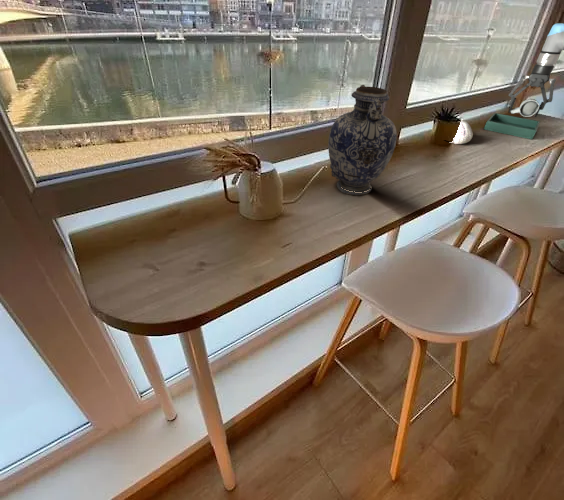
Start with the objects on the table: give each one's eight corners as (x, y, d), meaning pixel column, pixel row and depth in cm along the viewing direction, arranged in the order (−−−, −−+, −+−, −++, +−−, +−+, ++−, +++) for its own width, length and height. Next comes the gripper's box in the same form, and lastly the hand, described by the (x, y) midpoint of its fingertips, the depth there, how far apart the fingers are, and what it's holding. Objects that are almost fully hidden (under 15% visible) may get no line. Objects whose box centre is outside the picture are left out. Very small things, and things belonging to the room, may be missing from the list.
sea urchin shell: (473, 139, 139) (481, 120, 134) (465, 148, 130) (474, 128, 125) (441, 132, 145) (448, 113, 140) (432, 140, 136) (439, 120, 131)
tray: (536, 129, 153) (540, 121, 150) (532, 139, 141) (536, 130, 139) (490, 120, 162) (494, 112, 159) (483, 129, 150) (487, 120, 148)
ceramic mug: (533, 114, 164) (540, 97, 159) (534, 118, 158) (542, 101, 153) (509, 111, 168) (516, 95, 163) (509, 115, 162) (516, 98, 157)
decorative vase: (319, 171, 109) (330, 79, 91) (374, 173, 109) (395, 81, 92) (327, 204, 92) (342, 99, 75) (392, 205, 93) (421, 101, 75)
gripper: (515, 62, 152) (495, 111, 165) (575, 68, 141) (549, 120, 155) (517, 60, 157) (497, 108, 170) (576, 66, 146) (550, 117, 159)
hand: (522, 114), depth 162 cm, fingers closed on ceramic mug, 11 cm apart
